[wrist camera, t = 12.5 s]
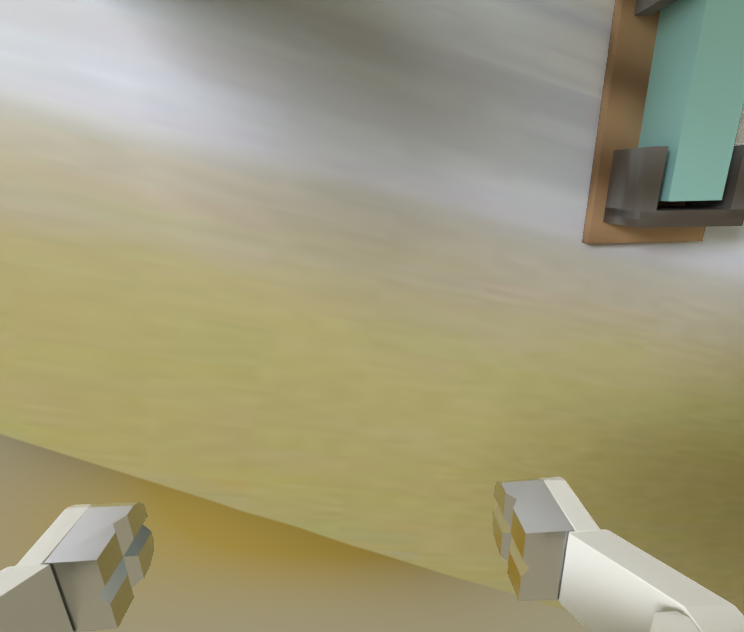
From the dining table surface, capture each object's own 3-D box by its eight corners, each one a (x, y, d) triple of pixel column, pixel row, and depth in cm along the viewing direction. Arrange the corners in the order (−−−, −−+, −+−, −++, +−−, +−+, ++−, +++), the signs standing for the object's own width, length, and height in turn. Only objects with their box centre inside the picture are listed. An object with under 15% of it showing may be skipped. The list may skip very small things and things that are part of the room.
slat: (667, -36, 30) (720, -71, 26) (722, -36, 30) (783, -71, 26) (629, 198, 35) (668, 201, 31) (676, 197, 35) (721, 200, 31)
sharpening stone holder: (629, -103, 30) (689, -164, 24) (767, -103, 30) (855, -162, 25) (582, 242, 37) (620, 252, 32) (693, 239, 37) (748, 249, 32)
